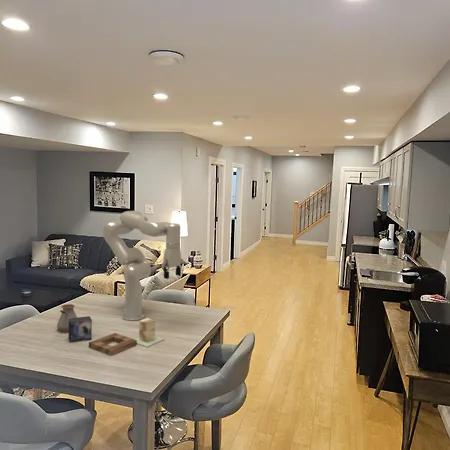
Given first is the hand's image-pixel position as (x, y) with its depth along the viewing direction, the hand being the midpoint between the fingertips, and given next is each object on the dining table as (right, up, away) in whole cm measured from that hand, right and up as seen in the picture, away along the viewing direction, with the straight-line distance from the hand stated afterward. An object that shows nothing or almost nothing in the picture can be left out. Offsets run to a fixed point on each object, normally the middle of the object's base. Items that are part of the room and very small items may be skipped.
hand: (172, 276), depth 226 cm
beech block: (-10, -29, -18) cm, 36 cm away
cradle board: (-25, -30, -26) cm, 48 cm away
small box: (-44, -29, -18) cm, 56 cm away
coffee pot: (-54, -28, -10) cm, 62 cm away
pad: (-10, -30, -18) cm, 37 cm away
